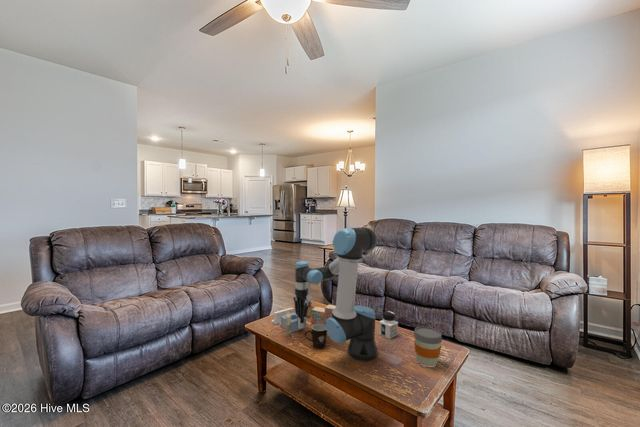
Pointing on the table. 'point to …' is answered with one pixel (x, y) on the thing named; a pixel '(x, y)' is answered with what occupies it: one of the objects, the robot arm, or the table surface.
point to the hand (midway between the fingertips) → (300, 327)
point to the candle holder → (309, 299)
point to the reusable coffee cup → (427, 345)
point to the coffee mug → (318, 335)
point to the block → (292, 322)
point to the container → (388, 325)
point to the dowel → (288, 324)
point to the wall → (280, 313)
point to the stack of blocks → (322, 314)
